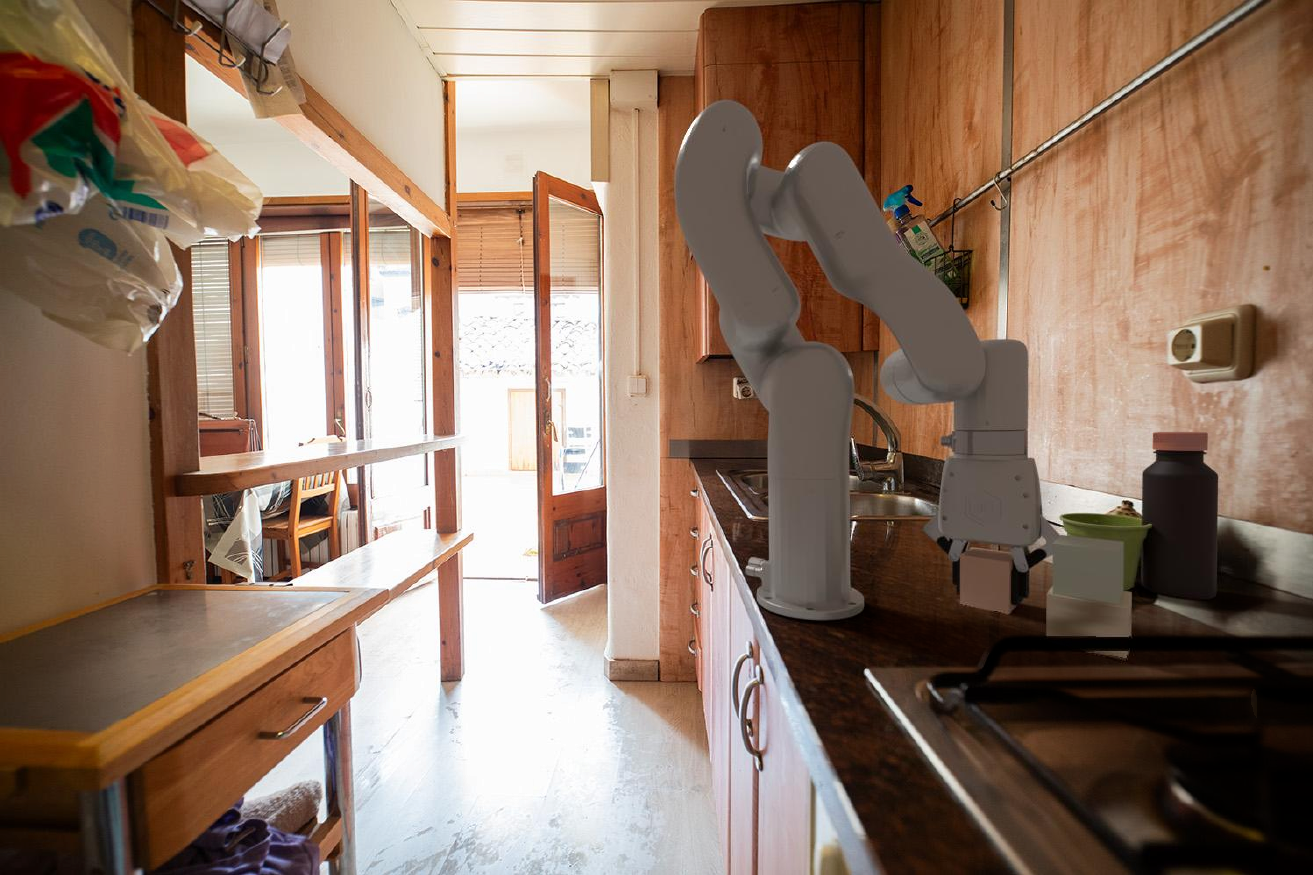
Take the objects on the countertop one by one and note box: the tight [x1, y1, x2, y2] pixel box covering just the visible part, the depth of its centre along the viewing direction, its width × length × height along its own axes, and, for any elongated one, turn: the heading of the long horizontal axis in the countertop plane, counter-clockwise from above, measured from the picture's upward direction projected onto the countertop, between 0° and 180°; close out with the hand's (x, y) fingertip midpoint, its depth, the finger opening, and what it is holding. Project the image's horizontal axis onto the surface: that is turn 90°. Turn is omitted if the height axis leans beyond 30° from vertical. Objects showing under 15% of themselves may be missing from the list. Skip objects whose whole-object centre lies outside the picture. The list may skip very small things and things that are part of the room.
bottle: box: [1140, 431, 1219, 601], centre depth 67 cm, size 7×7×20 cm
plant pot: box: [1058, 512, 1152, 591], centre depth 71 cm, size 9×9×9 cm
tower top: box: [1052, 534, 1124, 605], centre depth 53 cm, size 5×5×5 cm
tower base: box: [1045, 585, 1133, 659], centre depth 53 cm, size 6×6×5 cm
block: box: [959, 547, 1017, 615], centre depth 65 cm, size 5×5×6 cm
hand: (989, 595), depth 65 cm, fingers closed on block, 5 cm apart
